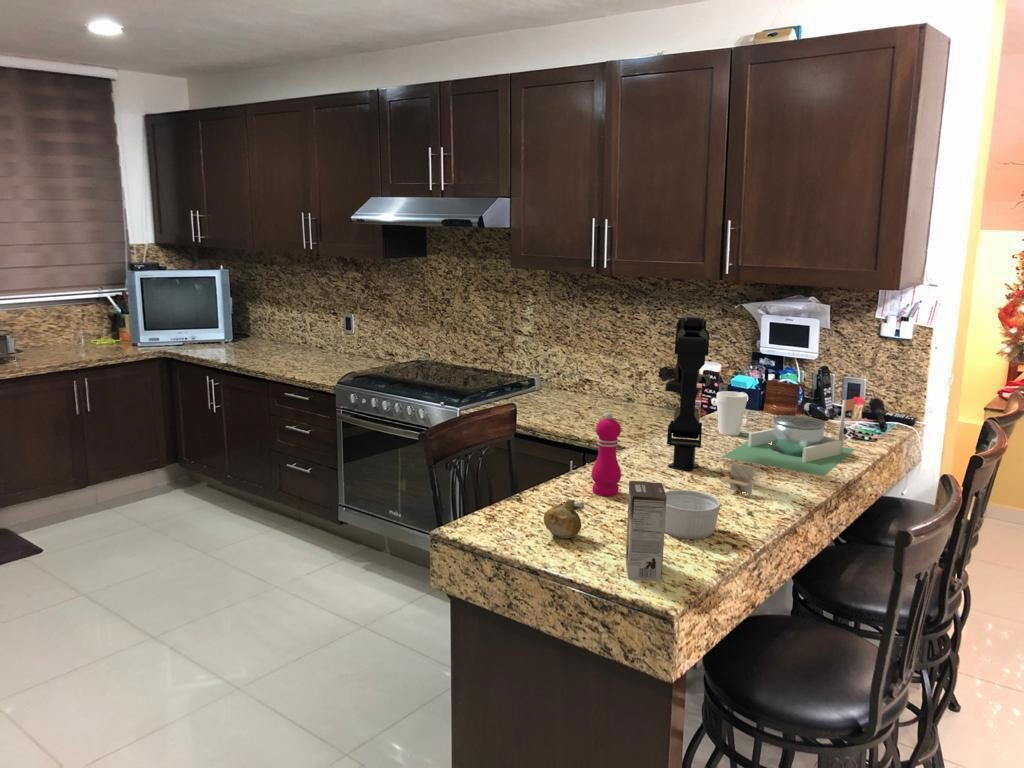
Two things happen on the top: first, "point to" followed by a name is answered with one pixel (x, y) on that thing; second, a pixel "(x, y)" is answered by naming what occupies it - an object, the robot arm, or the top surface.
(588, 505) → the top surface
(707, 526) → the ramekin
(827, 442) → the beige thin-walled piece
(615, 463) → the pepper mill
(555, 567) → the top surface
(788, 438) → the chrome metal canister
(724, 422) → the foam cup
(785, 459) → the green mat
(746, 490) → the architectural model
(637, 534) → the coffee box
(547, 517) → the onion
